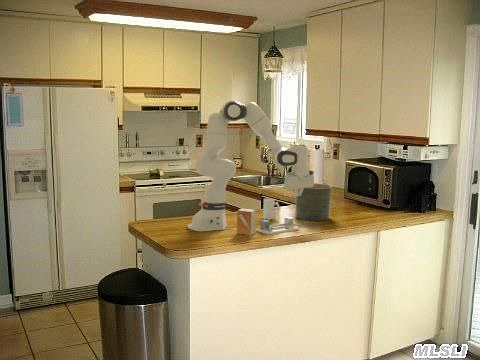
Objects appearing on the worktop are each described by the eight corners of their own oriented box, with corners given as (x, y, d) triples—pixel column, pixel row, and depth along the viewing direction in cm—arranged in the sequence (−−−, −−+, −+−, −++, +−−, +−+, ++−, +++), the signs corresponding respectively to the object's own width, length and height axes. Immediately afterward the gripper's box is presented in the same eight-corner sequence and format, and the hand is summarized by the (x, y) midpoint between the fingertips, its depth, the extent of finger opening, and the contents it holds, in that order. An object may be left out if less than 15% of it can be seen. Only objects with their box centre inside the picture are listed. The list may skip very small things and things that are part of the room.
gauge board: (268, 234, 269) (268, 223, 269) (256, 230, 278) (257, 220, 277) (299, 229, 282) (299, 219, 281) (287, 226, 290) (287, 216, 289)
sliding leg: (294, 228, 280) (294, 220, 279) (284, 224, 287) (284, 217, 286) (298, 227, 282) (298, 219, 281) (288, 224, 288) (288, 216, 288)
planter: (336, 217, 317) (338, 186, 314) (317, 223, 301) (318, 189, 298) (307, 212, 332) (309, 182, 329) (287, 217, 315) (288, 185, 313)
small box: (236, 234, 269) (237, 210, 268) (240, 231, 275) (241, 208, 273) (250, 235, 266) (251, 211, 265) (254, 233, 272) (255, 209, 270)
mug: (261, 219, 307) (262, 199, 305) (264, 217, 313) (265, 198, 312) (277, 220, 304) (278, 201, 302) (280, 218, 310) (281, 199, 308)
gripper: (289, 173, 277) (288, 198, 279) (316, 171, 289) (315, 195, 291) (281, 172, 282) (281, 196, 284) (308, 170, 294) (307, 193, 296)
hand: (298, 196), depth 288 cm, fingers closed
